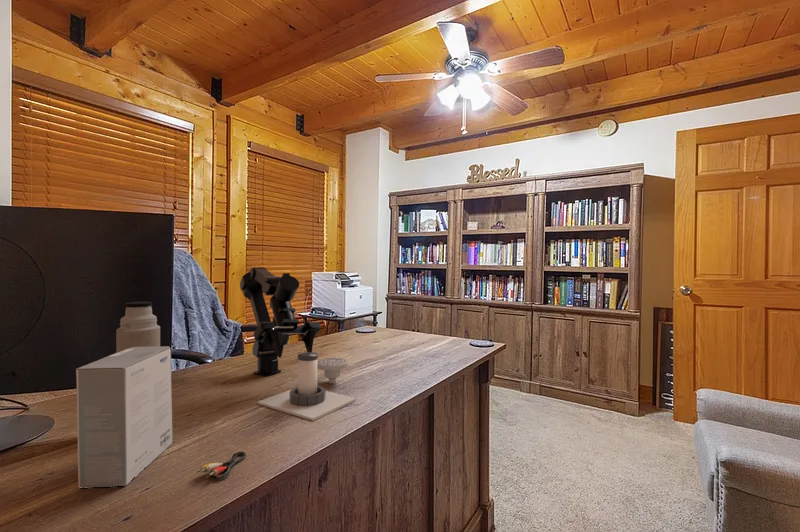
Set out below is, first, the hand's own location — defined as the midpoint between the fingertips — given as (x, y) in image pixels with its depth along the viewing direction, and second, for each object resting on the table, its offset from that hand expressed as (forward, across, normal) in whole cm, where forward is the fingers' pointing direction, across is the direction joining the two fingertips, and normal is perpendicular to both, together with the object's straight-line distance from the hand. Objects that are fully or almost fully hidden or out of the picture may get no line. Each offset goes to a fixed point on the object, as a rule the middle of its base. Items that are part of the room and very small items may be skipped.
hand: (295, 355), depth 108 cm
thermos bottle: (+9, +36, -11) cm, 38 cm away
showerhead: (+6, -14, -7) cm, 17 cm away
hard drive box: (+21, +40, +1) cm, 45 cm away
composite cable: (+29, +27, +12) cm, 41 cm away
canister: (+13, 0, 0) cm, 13 cm away
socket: (+14, 0, -1) cm, 14 cm away
